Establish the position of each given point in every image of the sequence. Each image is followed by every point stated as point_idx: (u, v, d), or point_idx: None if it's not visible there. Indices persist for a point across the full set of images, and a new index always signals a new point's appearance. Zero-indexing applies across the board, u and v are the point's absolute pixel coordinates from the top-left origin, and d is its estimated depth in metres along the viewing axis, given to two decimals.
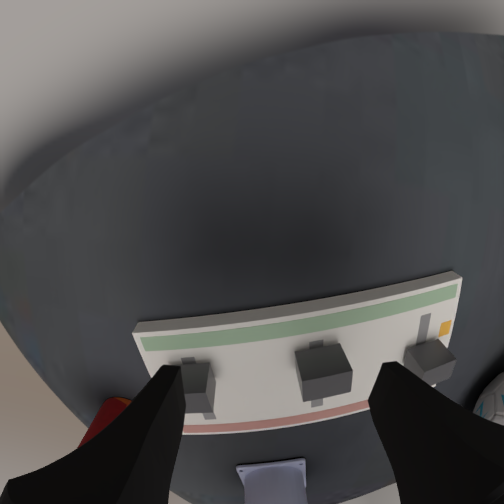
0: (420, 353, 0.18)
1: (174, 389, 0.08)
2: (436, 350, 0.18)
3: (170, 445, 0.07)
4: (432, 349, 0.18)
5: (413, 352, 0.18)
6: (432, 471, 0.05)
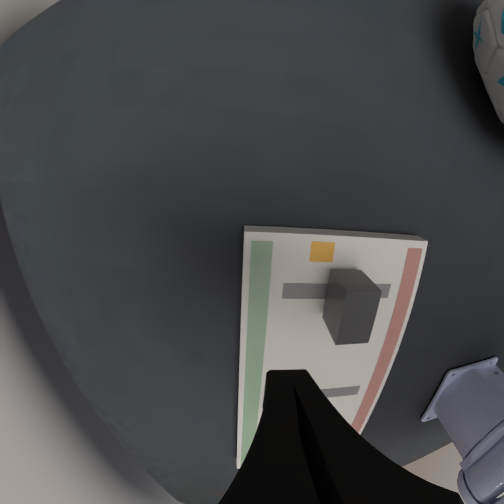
0: (328, 314, 0.16)
1: (292, 393, 0.08)
2: (333, 294, 0.15)
3: None
4: (331, 296, 0.16)
5: (325, 318, 0.16)
6: None
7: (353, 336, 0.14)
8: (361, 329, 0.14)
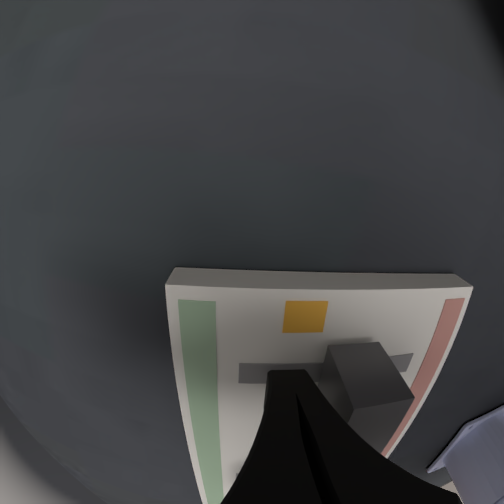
0: None
1: (293, 393, 0.08)
2: (330, 391, 0.08)
3: None
4: (327, 391, 0.09)
5: None
6: None
7: None
8: (371, 445, 0.07)
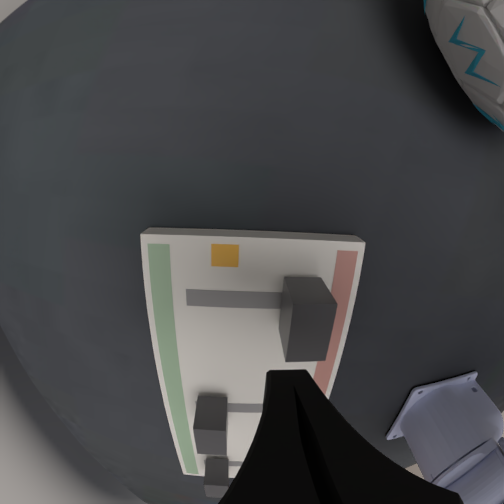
0: (281, 326, 0.15)
1: None
2: (285, 305, 0.14)
3: None
4: (284, 307, 0.14)
5: (280, 330, 0.15)
6: None
7: (306, 353, 0.13)
8: (315, 346, 0.13)
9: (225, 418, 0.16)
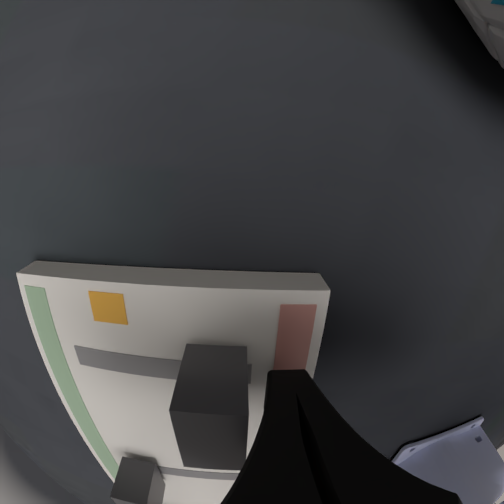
0: None
1: (293, 393, 0.08)
2: None
3: None
4: None
5: None
6: None
7: (212, 462, 0.07)
8: (223, 457, 0.07)
9: (148, 490, 0.10)
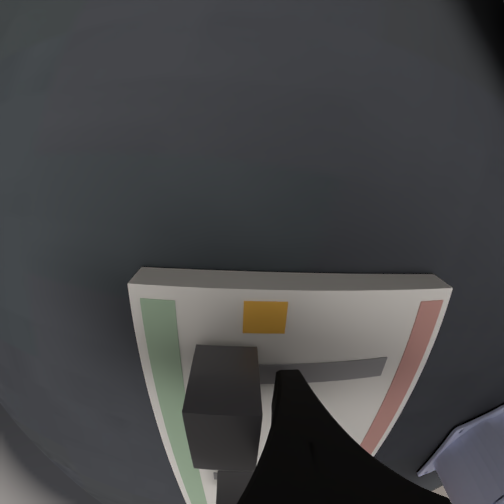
0: None
1: (302, 393, 0.08)
2: None
3: None
4: None
5: None
6: None
7: (222, 463, 0.07)
8: (235, 458, 0.07)
9: None
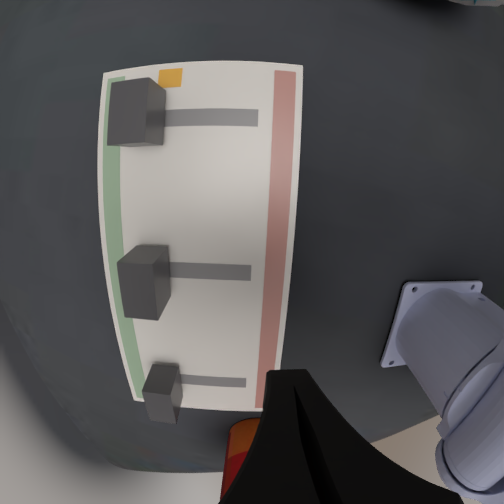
0: None
1: (292, 393, 0.08)
2: None
3: None
4: None
5: None
6: None
7: (124, 133, 0.11)
8: (132, 123, 0.11)
9: (157, 257, 0.14)
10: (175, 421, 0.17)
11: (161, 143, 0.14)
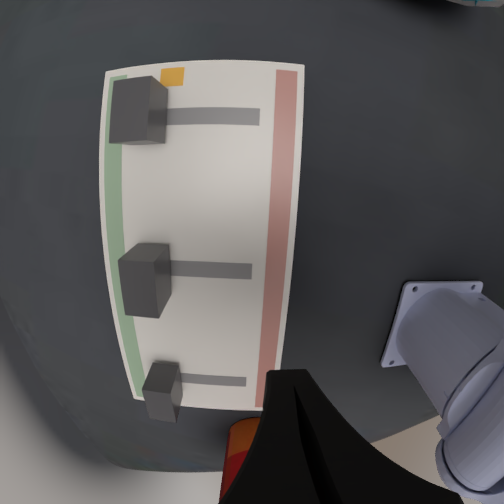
0: None
1: (292, 393, 0.08)
2: None
3: None
4: None
5: None
6: None
7: (127, 131, 0.11)
8: (134, 121, 0.11)
9: (158, 255, 0.14)
10: (175, 420, 0.17)
11: (163, 141, 0.14)
